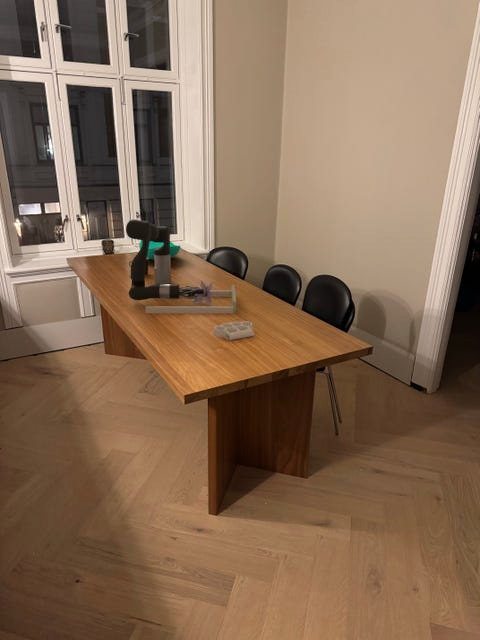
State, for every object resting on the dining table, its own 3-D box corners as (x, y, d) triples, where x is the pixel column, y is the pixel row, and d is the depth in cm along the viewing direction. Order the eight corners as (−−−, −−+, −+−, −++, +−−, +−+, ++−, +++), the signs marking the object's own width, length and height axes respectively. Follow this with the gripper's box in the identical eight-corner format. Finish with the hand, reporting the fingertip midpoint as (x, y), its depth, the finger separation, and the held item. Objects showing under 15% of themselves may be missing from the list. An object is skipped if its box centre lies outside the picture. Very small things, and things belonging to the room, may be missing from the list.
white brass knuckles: (223, 343, 178) (209, 331, 190) (261, 336, 186) (245, 325, 198) (223, 336, 177) (209, 324, 189) (261, 329, 184) (245, 318, 197)
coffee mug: (151, 272, 280) (150, 257, 276) (147, 276, 272) (146, 260, 268) (133, 271, 281) (132, 256, 277) (129, 275, 273) (128, 259, 269)
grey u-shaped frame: (146, 313, 209) (145, 301, 207) (154, 295, 235) (153, 284, 233) (236, 313, 211) (236, 301, 209) (234, 295, 237) (234, 285, 235)
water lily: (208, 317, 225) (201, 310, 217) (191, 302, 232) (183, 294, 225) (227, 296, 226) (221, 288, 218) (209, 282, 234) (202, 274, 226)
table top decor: (133, 256, 323) (132, 238, 318) (169, 253, 335) (168, 235, 331) (150, 268, 290) (149, 248, 286) (188, 264, 303) (188, 245, 298)
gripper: (167, 288, 212) (202, 288, 213) (170, 280, 225) (204, 280, 225) (168, 302, 215) (203, 302, 216) (171, 294, 227) (204, 294, 228)
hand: (203, 291), depth 221 cm, fingers closed
